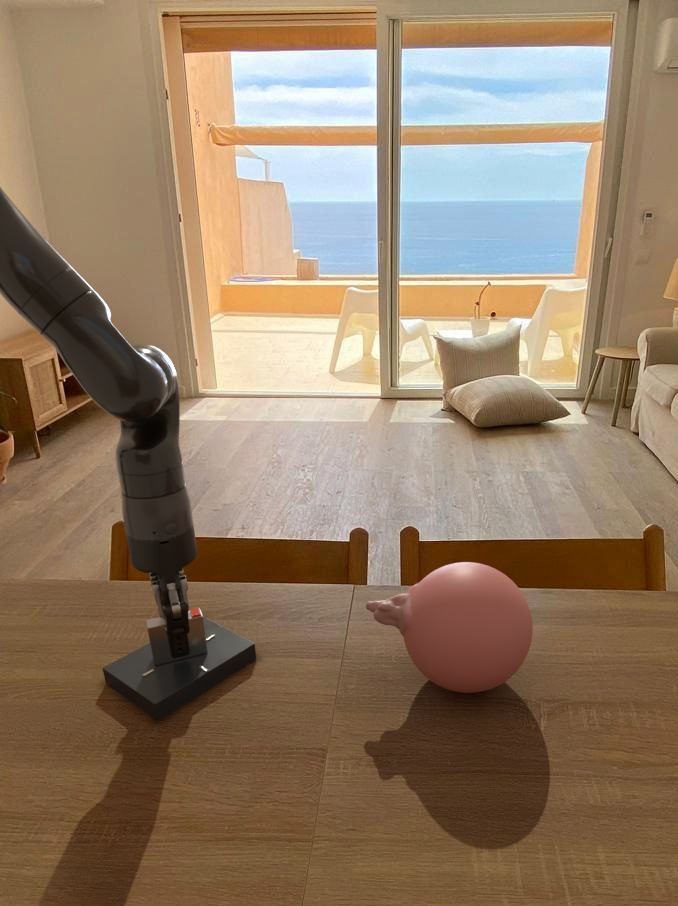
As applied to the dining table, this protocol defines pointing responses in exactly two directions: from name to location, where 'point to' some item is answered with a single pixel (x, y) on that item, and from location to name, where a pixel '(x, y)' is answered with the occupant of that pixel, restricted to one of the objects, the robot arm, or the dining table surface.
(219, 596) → the dining table surface
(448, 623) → the balloon
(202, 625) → the tap handle
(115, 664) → the base
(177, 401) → the robot arm
